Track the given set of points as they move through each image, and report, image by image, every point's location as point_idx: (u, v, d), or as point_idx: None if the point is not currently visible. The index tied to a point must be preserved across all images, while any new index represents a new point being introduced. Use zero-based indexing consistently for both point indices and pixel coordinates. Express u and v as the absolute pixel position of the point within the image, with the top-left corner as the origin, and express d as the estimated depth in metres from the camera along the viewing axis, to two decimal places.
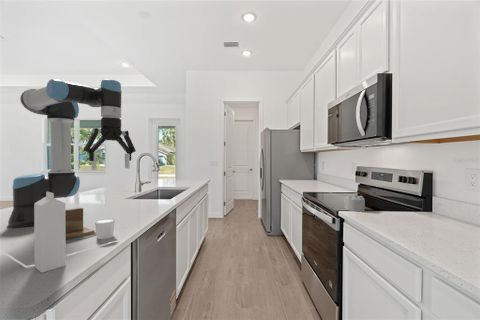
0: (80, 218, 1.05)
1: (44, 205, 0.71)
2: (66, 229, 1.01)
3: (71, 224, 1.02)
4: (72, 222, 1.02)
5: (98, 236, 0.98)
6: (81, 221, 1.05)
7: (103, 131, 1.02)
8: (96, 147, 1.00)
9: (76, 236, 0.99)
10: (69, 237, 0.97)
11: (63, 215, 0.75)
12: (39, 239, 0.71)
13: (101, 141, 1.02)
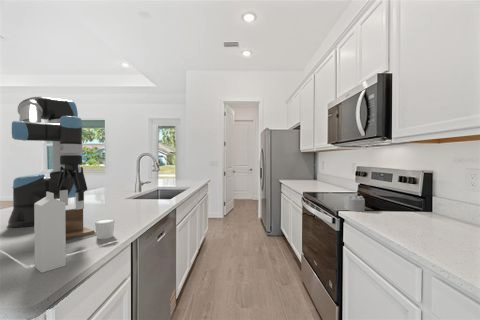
0: (80, 218, 1.05)
1: (44, 205, 0.71)
2: (66, 229, 1.01)
3: (71, 224, 1.02)
4: (72, 222, 1.02)
5: (98, 236, 0.98)
6: (81, 221, 1.05)
7: (64, 169, 1.04)
8: (61, 185, 1.05)
9: (76, 236, 0.99)
10: (69, 237, 0.97)
11: (63, 215, 0.75)
12: (39, 239, 0.71)
13: (63, 179, 1.04)
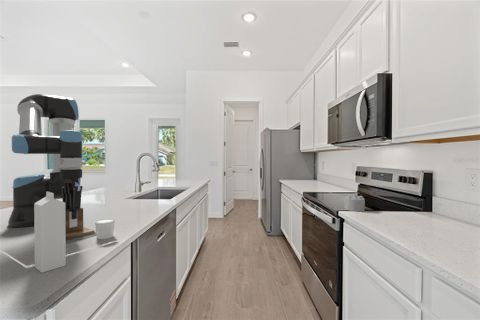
0: (80, 218, 1.05)
1: (44, 205, 0.71)
2: (66, 229, 1.01)
3: None
4: None
5: (98, 236, 0.98)
6: (81, 221, 1.05)
7: (64, 182, 1.04)
8: (65, 203, 1.03)
9: (76, 236, 0.99)
10: (69, 237, 0.97)
11: (63, 215, 0.75)
12: (39, 239, 0.71)
13: (66, 196, 1.03)
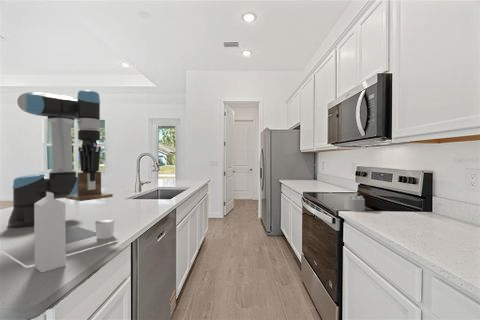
0: (98, 181, 1.03)
1: (44, 205, 0.71)
2: (84, 191, 0.99)
3: None
4: None
5: (98, 236, 0.98)
6: (99, 185, 1.03)
7: (82, 145, 1.02)
8: (83, 166, 1.01)
9: (95, 197, 0.97)
10: (88, 198, 0.95)
11: (63, 215, 0.75)
12: (39, 239, 0.71)
13: (84, 158, 1.01)
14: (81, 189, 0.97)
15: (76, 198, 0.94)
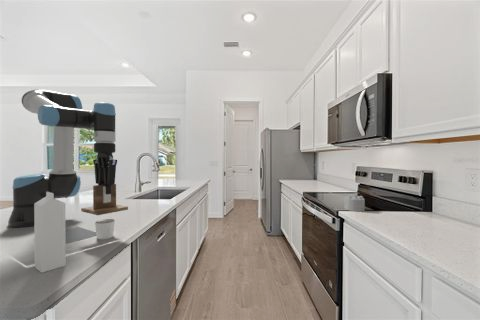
0: (113, 194, 1.02)
1: (44, 205, 0.71)
2: (100, 204, 0.98)
3: None
4: None
5: (98, 236, 0.98)
6: (114, 197, 1.03)
7: (97, 157, 1.01)
8: (99, 178, 1.00)
9: (111, 211, 0.96)
10: (104, 211, 0.94)
11: (63, 215, 0.75)
12: (39, 239, 0.71)
13: (99, 170, 1.00)
14: (97, 202, 0.97)
15: (93, 212, 0.94)
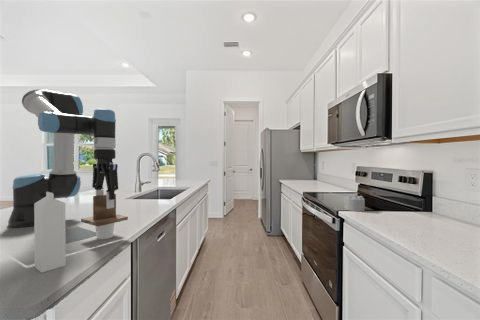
0: None
1: (44, 205, 0.71)
2: (100, 215, 0.98)
3: (104, 210, 1.00)
4: (105, 208, 1.00)
5: (98, 236, 0.98)
6: (114, 207, 1.03)
7: (97, 163, 1.01)
8: (96, 183, 1.01)
9: (111, 222, 0.97)
10: (104, 222, 0.95)
11: (63, 215, 0.75)
12: (39, 239, 0.71)
13: (97, 176, 1.01)
14: (97, 213, 0.97)
15: (93, 223, 0.94)
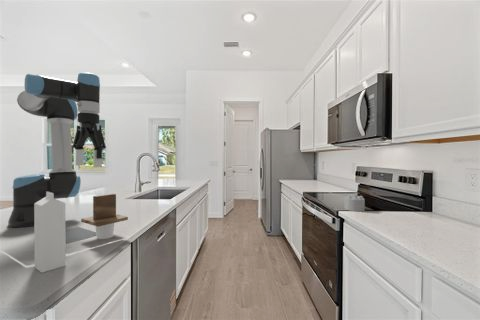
0: (113, 204, 1.03)
1: (44, 205, 0.71)
2: (100, 215, 0.98)
3: (104, 210, 1.00)
4: (105, 208, 1.00)
5: (98, 236, 0.98)
6: (114, 207, 1.03)
7: (81, 128, 1.03)
8: (77, 144, 1.04)
9: (111, 222, 0.97)
10: (104, 222, 0.95)
11: (63, 215, 0.75)
12: (39, 239, 0.71)
13: (79, 138, 1.03)
14: (97, 213, 0.97)
15: (93, 223, 0.94)
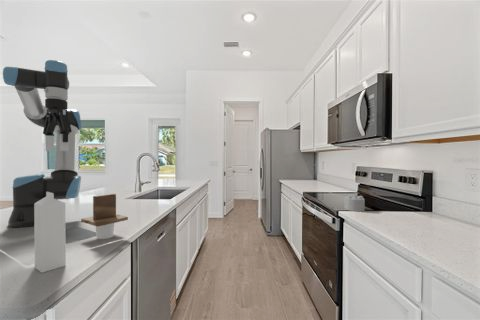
0: (113, 204, 1.03)
1: (44, 205, 0.71)
2: (100, 215, 0.98)
3: (104, 210, 1.00)
4: (105, 208, 1.00)
5: (98, 236, 0.98)
6: (114, 207, 1.03)
7: None
8: (46, 130, 1.08)
9: (111, 222, 0.97)
10: (104, 222, 0.95)
11: (63, 215, 0.75)
12: (39, 239, 0.71)
13: (48, 124, 1.07)
14: (97, 213, 0.97)
15: (92, 223, 0.94)
